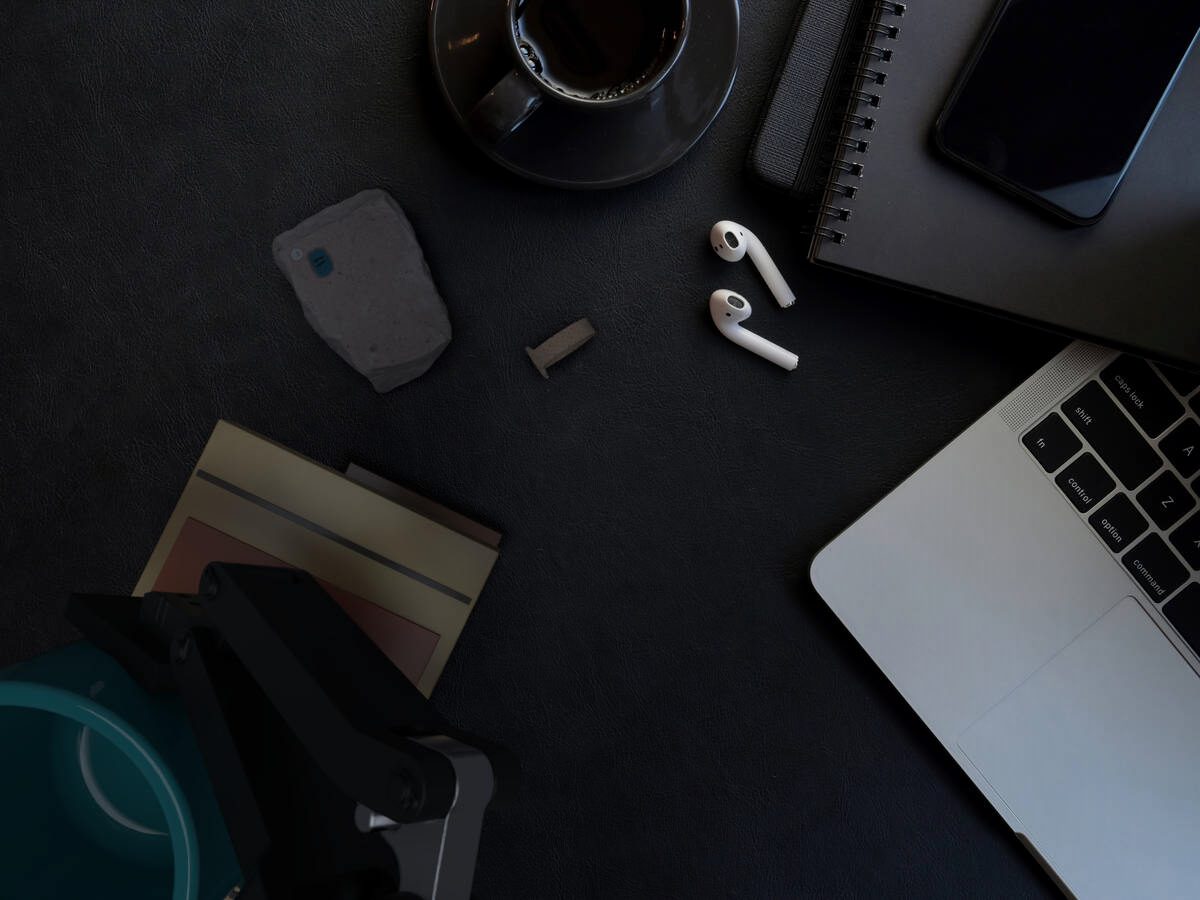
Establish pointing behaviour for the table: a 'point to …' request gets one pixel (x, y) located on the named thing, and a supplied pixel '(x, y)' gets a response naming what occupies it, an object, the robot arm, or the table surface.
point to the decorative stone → (367, 287)
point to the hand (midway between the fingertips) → (73, 763)
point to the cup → (103, 787)
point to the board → (326, 546)
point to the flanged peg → (560, 345)
